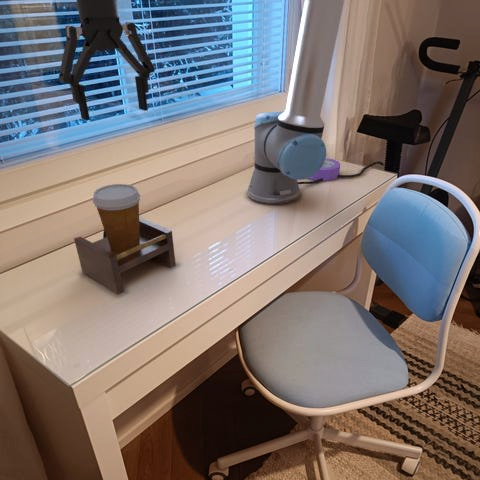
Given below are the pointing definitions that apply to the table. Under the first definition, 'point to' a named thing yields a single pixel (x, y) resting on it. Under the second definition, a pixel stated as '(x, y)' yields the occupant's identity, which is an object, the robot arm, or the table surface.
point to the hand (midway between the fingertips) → (115, 114)
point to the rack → (124, 255)
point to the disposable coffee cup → (119, 215)
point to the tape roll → (327, 170)
